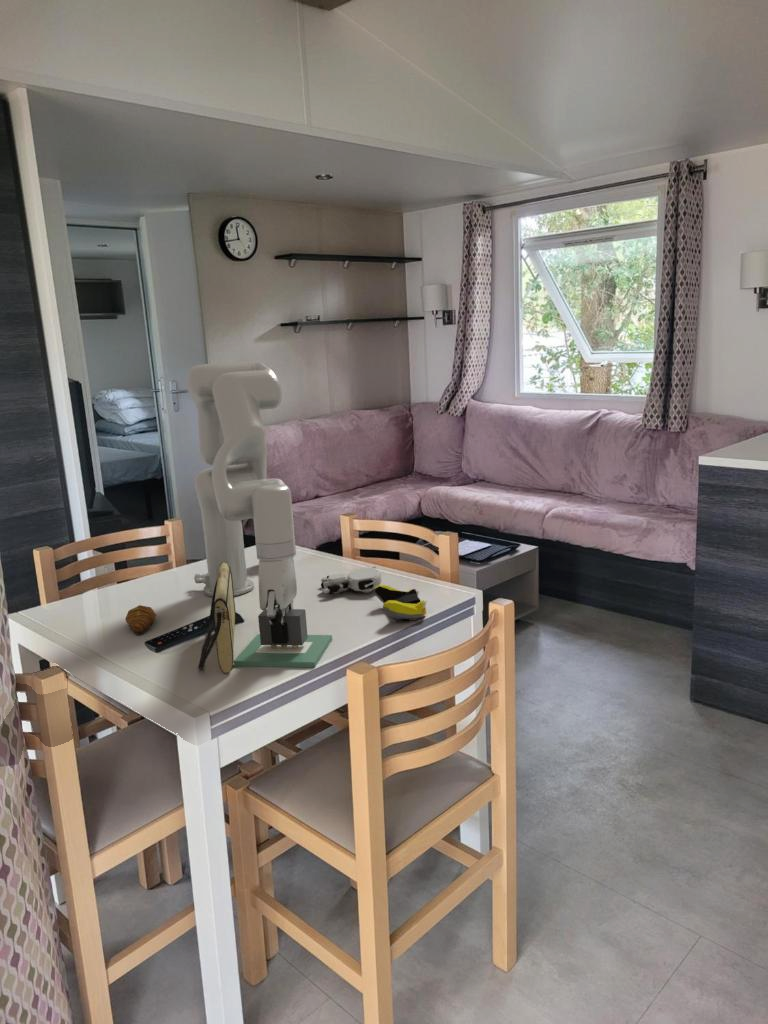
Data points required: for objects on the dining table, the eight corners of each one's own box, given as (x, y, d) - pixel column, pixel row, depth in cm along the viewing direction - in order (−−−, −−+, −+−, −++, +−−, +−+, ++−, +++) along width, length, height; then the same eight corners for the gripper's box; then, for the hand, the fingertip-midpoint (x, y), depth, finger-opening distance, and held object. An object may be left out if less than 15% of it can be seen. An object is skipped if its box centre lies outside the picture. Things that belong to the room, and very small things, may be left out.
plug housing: (260, 645, 151) (257, 611, 149) (267, 637, 155) (264, 604, 153) (302, 645, 149) (299, 611, 148) (307, 637, 153) (304, 604, 152)
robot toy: (323, 604, 184) (385, 594, 185) (320, 586, 183) (382, 576, 184) (321, 589, 196) (379, 579, 197) (319, 572, 195) (377, 563, 196)
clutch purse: (205, 627, 169) (198, 562, 166) (237, 624, 170) (230, 559, 167) (196, 682, 141) (187, 604, 138) (234, 678, 142) (226, 600, 139)
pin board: (234, 665, 147) (232, 645, 146) (258, 638, 161) (256, 620, 160) (314, 667, 144) (313, 646, 143) (332, 639, 158) (330, 620, 157)
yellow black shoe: (385, 628, 163) (431, 623, 165) (384, 603, 162) (430, 598, 164) (373, 606, 177) (415, 601, 179) (372, 583, 176) (414, 579, 178)
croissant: (130, 618, 179) (127, 597, 178) (160, 614, 180) (157, 594, 179) (122, 638, 166) (119, 616, 165) (154, 634, 167) (152, 613, 166)
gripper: (270, 538, 157) (278, 623, 160) (242, 560, 141) (251, 654, 144) (306, 538, 155) (313, 624, 159) (281, 560, 139) (290, 655, 143)
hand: (283, 637), depth 152 cm, fingers closed on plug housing, 4 cm apart
